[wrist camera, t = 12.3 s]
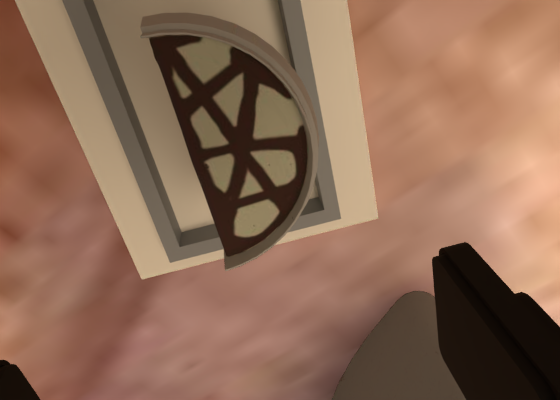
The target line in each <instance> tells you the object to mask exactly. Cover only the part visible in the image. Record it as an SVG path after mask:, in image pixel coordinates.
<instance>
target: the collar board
mask: <svg viewBox="0 0 560 400" xmlns="http://www.w3.org/2000/svg"><path fill="white" fill-rule="evenodd" d="M15 2H16V4H17V6H18V9H19V11H20V13H21V15H22V17H23V20H24V22H25V24H26V26H27V28H28V31H29V33H30V35H31V37H32V39H33V41H34V44H35V46H36V48H37V50H38V52H39V55H40V57H41V59H42V61H43V63H44V66H45V68H46V70H47V72H48V74H49V77H50V79H51V81H52V83H53V85H54V88H55V90H56V92H57V94H58V96H59V99H60V101H61V103H62V105H63V107H64V110H65V112H66V114H67V116H68V118H69V121H70V123H71V125H72V127H73V129H74V132H75V134H76V136H77V138H78V140H79V143H80V145H81V147H82V149H83V151H84V154H85V156H86V158H87V160H88V162H89V165H90V167H91V169H92V171H93V173H94V176H95V178H96V180H97V182H98V184H99V186H100V189H101V191H102V193H103V195H104V197H105V200H106V202H107V204H108V206H109V208H110V211H111V213H112V215H113V217H114V219H115V222H116V224H117V226H118V228H119V230H120V233H121V235H122V237H123V239H124V241H125V244H126V246H127V248H128V250H129V252H130V255H131V257H132V259H133V261H134V263H135V266H136V268H137V270H138V272H139V274H140V277H141V279H146V278H150V277H153V276H157V275H161V274H165V273H169V272H173V271H177V270H181V269H184V268H188V267H192V266H196V265H200V264H204V263H208V262H212V261H215V260H219V259H223V258H224V248H223V245H222V243H221V240H220V237H219V235H218V232H217V229H216V226H215V223H214V221H213V218H212V215H211V212H210V209H209V207H208V204H207V201H206V198H205V195H204V193H203V190H202V187H201V185H200V182H199V179H198V177H197V174H196V172H195V169H194V167H193V164H192V161H191V158H190V155H189V152H188V149H187V146H186V143H185V140H184V137H183V134H182V131H181V128H180V125H179V122H178V119H177V116H176V113H175V111H174V108H173V105H172V102H171V99H170V96H169V93H168V90H167V87H166V85H165V82H164V79H163V76H162V73H161V71H160V68H159V65H158V63H157V61H156V60H155V58H154V54H153V49H152V47H151V44H150V40H149V38H141V37H140V36H141V34H142V31H141V28H140V26H141V21H142V17H144V16H149V15H155V14H161V13H194V14H201V15H208V16H213V17H216V18H219V19H222V20H226V21H229V22H232V23H235V24H237V25H239V26H241V27H243V28H245V29H247V30H249V31H251V32H252V33H254V34H256V35H257V36H259V37H260V38H262V39H263V40H264V41H266V42H267V43H268V44H270V45H271V46H273V47H274V48H275V49H276V50H277V51H278V52H279V53H280V54H281V55H282V56H283V57H284V58H285V59H286V60H287V61H288V62H289V63H290V65H291V66H292V68H293V69H294V70H295V72H296V73H297V75H298V76H299V77H300V79H301V80H302V82H303V84H304V86H305V88H306V90H307V92H308V95H309V97H310V99H311V102H312V105H313V108H314V112H315V115H316V119H317V127H318V134H319V147H318V168H317V173H316V178H315V182H314V186H313V189H312V192H311V194H310V197H309V199H308V202H307V204H306V206H305V207H304V209H303V211H302V213H301V214H300V216H299V218H298V219H297V220H296V222H295V223H294V225H293V226H292V227H291V228H290V230H289V231H288V232H287V233H286V235H285V236H284V237H283V238H282V239H281V240H280V241H278V242H277V243H276V244H275V245H277V244H281V243H285V242H289V241H293V240H297V239H301V238H305V237H308V236H312V235H316V234H320V233H324V232H328V231H332V230H336V229H339V228H343V227H347V226H351V225H355V224H359V223H363V222H367V221H370V220H374V219H378V212H377V205H376V198H375V191H374V184H373V177H372V170H371V163H370V156H369V149H368V142H367V135H366V128H365V121H364V114H363V107H362V101H361V94H360V87H359V80H358V73H357V66H356V59H355V52H354V45H353V38H352V31H351V24H350V17H349V10H348V3H347V0H15Z"/></svg>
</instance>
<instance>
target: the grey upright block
mask: <svg viewBox="0 0 560 400" xmlns="http://www.w3.org/2000/svg"><path fill="white" fill-rule="evenodd" d="M332 400H466V399H465V397H464V395H463V393H462V392H461V390H460V388H459V386H458V385H457V383H456V381H455V379H454V378H453V376H452V374H451V372H450V371H449V369H448V367H447V365H446V364H445V362H444V360H443V358H442V355H441V352H440V349H439V343H438V330H437V317H436V305H435V297H434V296H432V295H431V294H429V293H427V292H421V291H413V292H410V293H407V294H405V295H404V296H402V297H401V298H400V299H399V300H397V302H396V303H395V304H394V305H393V306H392V308H391V309H390V310H389V311H388V312H387V314H386V315H385V316H384V317H383V318H382V320H381V321H380V322H379V323H378V324H377V326H376V327H375V328H374V329H373V330H372V332H371V333H370V334H369V335H368V337H367V338H366V340H365V341H364V342H363V344H362V345H361V347H360V348H359V350H358V351H357V353H356V354H355V356H354V357H353V358H352V360H351V362H350V364H349V366H348V367H347V369H346V371H345V373H344V374H343V376H342V378H341V380H340V382H339V384H338V386H337V389H336V391H335V393H334V396H333V398H332Z"/></svg>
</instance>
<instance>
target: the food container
mask: <svg viewBox="0 0 560 400" xmlns="http://www.w3.org/2000/svg"><path fill="white" fill-rule="evenodd" d="M140 28H141V31H142V34H141V36H140V37H141V38H149V40H150V44H151V47H152V49H153V54H154V58H155V60H156V61H157V63H158V65H159V68H160V71H161V73H162V76H163V79H164V82H165V85H166V87H167V90H168V93H169V96H170V99H171V102H172V105H173V108H174V111H175V113H176V116H177V119H178V122H179V125H180V128H181V131H182V134H183V137H184V140H185V143H186V146H187V149H188V152H189V155H190V158H191V161H192V164H193V167H194V169H195V172H196V174H197V177H198V179H199V182H200V185H201V187H202V190H203V193H204V195H205V198H206V201H207V204H208V207H209V209H210V212H211V215H212V218H213V221H214V223H215V226H216V229H217V232H218V235H219V237H220V240H221V243H222V245H223V248H224V262H225V271H228V270H231V269H234V268H236V267H239V266H242V265H244V264H246V263H248V262H250V261H252V260H254V259H256V258H258V257H259V256H261V255H262V254H263V253H265V252H266V251H268V250H269V249H271V248H272V247H273V246H274V245H275V244H276V243H277V242H278V241H280V240H281V239H282V238H283V237H284V236H285V235H286V233H287V232H288V231H289V230H290V228H291V227H292V226H293V225H294V223H295V222H296V220H297V219H298V218H299V216H300V214H301V213H302V211H303V209H304V207H305V206H306V204H307V202H308V199H309V197H310V194H311V192H312V189H313V186H314V182H315V178H316V173H317V168H318V147H319V134H318V127H317V119H316V115H315V112H314V108H313V105H312V102H311V99H310V97H309V95H308V92H307V90H306V88H305V86H304V84H303V82H302V80H301V79H300V77H299V76H298V75H297V73H296V72H295V70H294V69H293V68H292V66H291V65H290V63H289V62H288V61H287V60H286V59H285V58H284V57H283V56H282V55H281V54H280V53H279V52H278V51H277V50H276V49H275V48H274V47H273V46H271V45H270V44H268V43H267V42H266V41H264V40H263V39H262V38H260V37H259V36H257V35H256V34H254V33H252V32H251V31H249V30H247V29H245V28H243V27H241V26H239V25H237V24H235V23H232V22H229V21H226V20H222V19H219V18H216V17H213V16H208V15H201V14H194V13H161V14H155V15H149V16H144V17H142V21H141V26H140Z"/></svg>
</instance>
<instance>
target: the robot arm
mask: <svg viewBox="0 0 560 400" xmlns="http://www.w3.org/2000/svg"><path fill="white" fill-rule="evenodd" d="M432 266H433V279H434V292H435V305H436V317H437V330H438V343H439V349H440V352H441V355H442V358H443V360H444V362H445V364H446V365H447V367H448V369H449V371H450V372H451V374H452V376H453V378H454V379H455V381H456V383H457V385H458V386H459V388H460V390H461V392H462V393H463V395H464V397H465V399H466V400H560V327H559V326H558V325H557V324H556V323H555V322H554V321H553V320H552V319H551V317H550V316H549V315H548V314H547V313H546V312H545V311H544V310H543V309H542V308H541V307H540V306H539V305H538V304H537V303H536V302H535V301H534V300H533V299H532V298H531V297H530V296H529V295H528V294H526V293H523V292H520V293H516V294H514V293H513V292H512V291H511V289H510V288H509V287H508V286H507V285H506V284H505V283H504V282H503V281H502V280H501V278H500V277H499V276H498V275H497V274H496V273H495V272H494V271H493V270H492V268H491V267H490V266H489V265H488V264H487V263H486V262H485V261H484V260H483V259H482V257H481V256H480V255H479V254H478V253H477V252H476V251H475V250H474V249H473V248H472V246H471V245H470V244H468V243H466V242H464V243H460V244H456V245H452V246H448V247H444V248H441V249H440V250H439V256H436V257H433V259H432ZM0 400H40V398H39V397H38V395H37V394H36V392H35V391H34V390H33V388H32V387H31V385H30V384H29V382H28V381H27V379H26V378H25V376H24V375H23V373H22V372H21V371H20V369H19V368H18V367H17V366H16V365H14V364H10V363H9V362H8V361H6V360H0Z"/></svg>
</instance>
